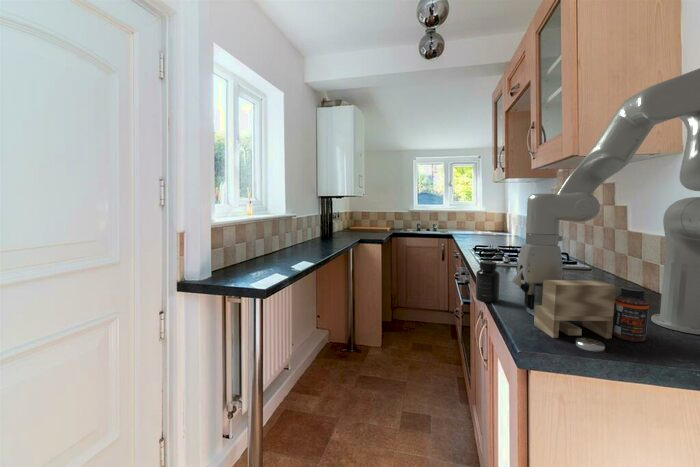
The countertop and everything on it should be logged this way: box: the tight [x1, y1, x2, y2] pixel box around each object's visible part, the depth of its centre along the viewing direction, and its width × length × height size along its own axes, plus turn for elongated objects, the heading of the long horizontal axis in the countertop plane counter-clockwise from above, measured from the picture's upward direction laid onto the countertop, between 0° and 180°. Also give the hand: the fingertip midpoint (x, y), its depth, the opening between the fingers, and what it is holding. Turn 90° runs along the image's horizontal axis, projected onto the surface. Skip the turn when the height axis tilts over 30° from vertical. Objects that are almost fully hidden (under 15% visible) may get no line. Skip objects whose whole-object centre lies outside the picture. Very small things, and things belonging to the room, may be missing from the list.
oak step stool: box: [533, 279, 616, 339], centre depth 79 cm, size 13×8×12 cm, turn 89°
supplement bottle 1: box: [475, 260, 501, 304], centre depth 105 cm, size 7×7×12 cm
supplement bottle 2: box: [612, 286, 650, 343], centre depth 75 cm, size 6×6×11 cm
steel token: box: [575, 337, 606, 353], centre depth 71 cm, size 5×5×1 cm
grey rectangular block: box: [526, 283, 583, 336], centre depth 84 cm, size 4×17×8 cm, turn 0°
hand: (538, 307), depth 91 cm, fingers closed on grey rectangular block, 4 cm apart
